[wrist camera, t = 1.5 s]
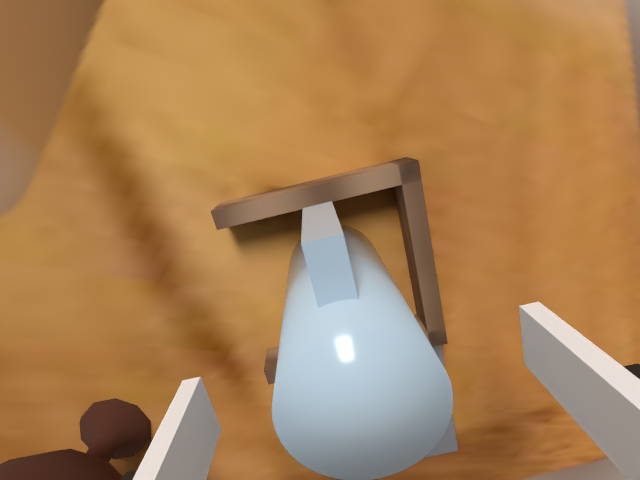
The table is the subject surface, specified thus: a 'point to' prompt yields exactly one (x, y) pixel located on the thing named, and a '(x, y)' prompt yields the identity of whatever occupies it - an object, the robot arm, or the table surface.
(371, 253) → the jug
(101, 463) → the ice cream bowl
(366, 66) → the table surface
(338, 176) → the brown wooden u-shaped frame
